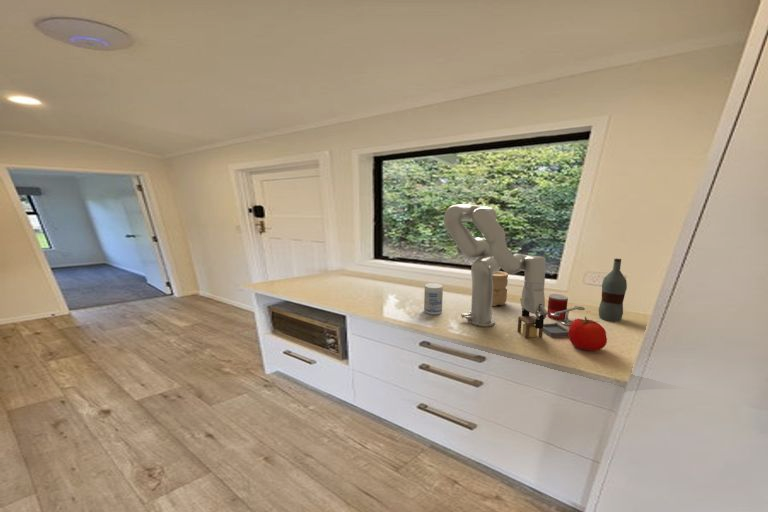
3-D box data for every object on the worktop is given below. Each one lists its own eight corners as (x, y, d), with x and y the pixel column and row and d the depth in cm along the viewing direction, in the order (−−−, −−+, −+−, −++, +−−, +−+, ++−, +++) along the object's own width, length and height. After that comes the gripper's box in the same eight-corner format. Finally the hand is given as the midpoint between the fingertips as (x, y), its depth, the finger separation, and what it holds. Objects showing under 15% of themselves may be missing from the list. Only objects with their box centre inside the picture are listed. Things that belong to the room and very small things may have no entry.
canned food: (568, 321, 135) (570, 299, 133) (550, 319, 137) (552, 298, 135) (561, 314, 142) (563, 294, 140) (544, 313, 144) (546, 293, 142)
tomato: (584, 338, 118) (587, 312, 116) (615, 355, 105) (619, 326, 103) (558, 341, 116) (561, 315, 114) (586, 358, 103) (590, 329, 101)
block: (527, 337, 120) (528, 327, 119) (522, 333, 124) (523, 323, 123) (536, 336, 120) (537, 327, 119) (531, 332, 124) (531, 323, 123)
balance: (552, 326, 129) (554, 309, 128) (547, 323, 133) (548, 306, 131) (584, 325, 130) (586, 308, 129) (578, 321, 134) (580, 304, 133)
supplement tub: (430, 316, 144) (430, 289, 141) (420, 310, 152) (420, 284, 150) (445, 313, 147) (446, 286, 145) (435, 307, 156) (436, 282, 153)
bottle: (612, 315, 141) (620, 257, 135) (627, 322, 132) (636, 260, 126) (593, 315, 141) (600, 257, 136) (606, 322, 132) (615, 261, 127)
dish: (551, 337, 119) (551, 333, 119) (537, 328, 128) (538, 324, 128) (570, 336, 120) (571, 331, 120) (556, 327, 129) (556, 323, 128)
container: (484, 306, 156) (485, 275, 153) (481, 299, 168) (483, 270, 165) (508, 308, 153) (510, 276, 150) (503, 300, 165) (505, 270, 162)
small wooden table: (526, 338, 118) (527, 323, 117) (517, 331, 125) (518, 316, 124) (542, 337, 119) (543, 322, 118) (532, 330, 126) (533, 315, 124)
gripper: (514, 280, 126) (513, 316, 129) (538, 291, 109) (536, 332, 112) (530, 279, 127) (528, 315, 129) (556, 290, 110) (553, 331, 112)
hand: (532, 323), depth 121 cm, fingers open, 9 cm apart
